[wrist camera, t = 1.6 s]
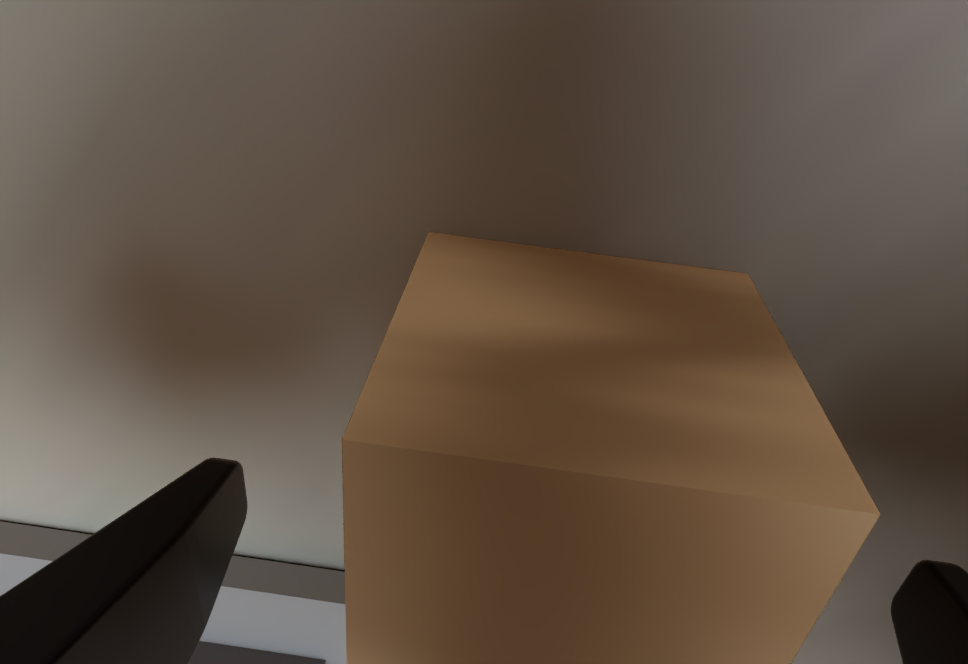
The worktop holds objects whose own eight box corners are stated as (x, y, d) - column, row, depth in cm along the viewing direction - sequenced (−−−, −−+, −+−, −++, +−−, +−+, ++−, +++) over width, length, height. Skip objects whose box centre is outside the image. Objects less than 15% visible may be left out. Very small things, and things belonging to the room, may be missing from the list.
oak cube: (746, 270, 10) (879, 514, 6) (667, 498, 13) (721, 778, 9) (429, 229, 10) (341, 439, 6) (415, 463, 13) (347, 722, 9)
